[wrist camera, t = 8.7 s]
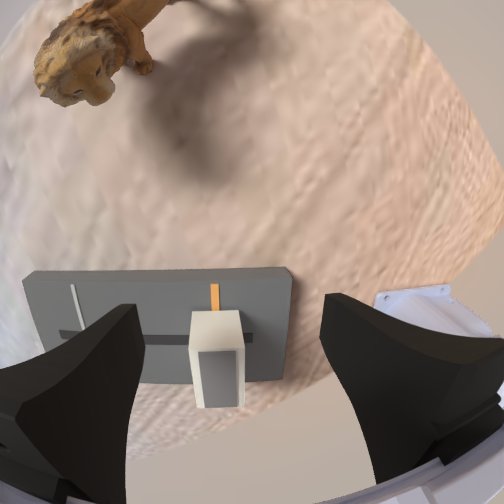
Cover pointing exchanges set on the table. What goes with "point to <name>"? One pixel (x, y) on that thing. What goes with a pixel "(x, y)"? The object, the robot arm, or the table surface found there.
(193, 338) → the fader knob
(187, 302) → the fader console
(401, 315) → the robot arm
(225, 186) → the table surface
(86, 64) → the lion figurine
